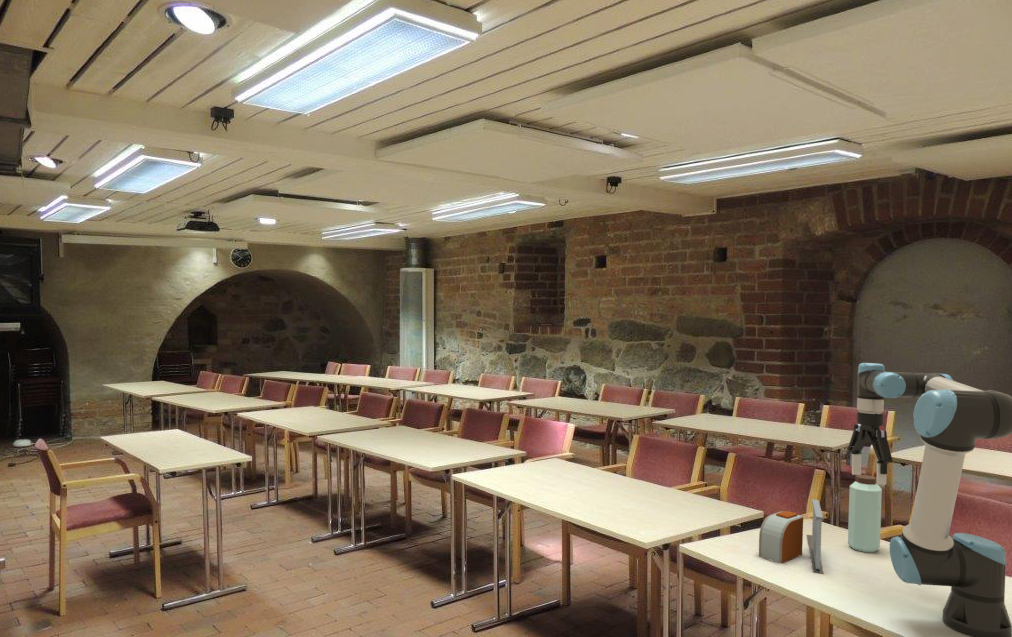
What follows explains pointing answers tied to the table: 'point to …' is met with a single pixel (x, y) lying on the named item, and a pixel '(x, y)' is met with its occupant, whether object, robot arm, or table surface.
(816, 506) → the screen
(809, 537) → the rail
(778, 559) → the alarm clock
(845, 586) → the table surface
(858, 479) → the water bottle
